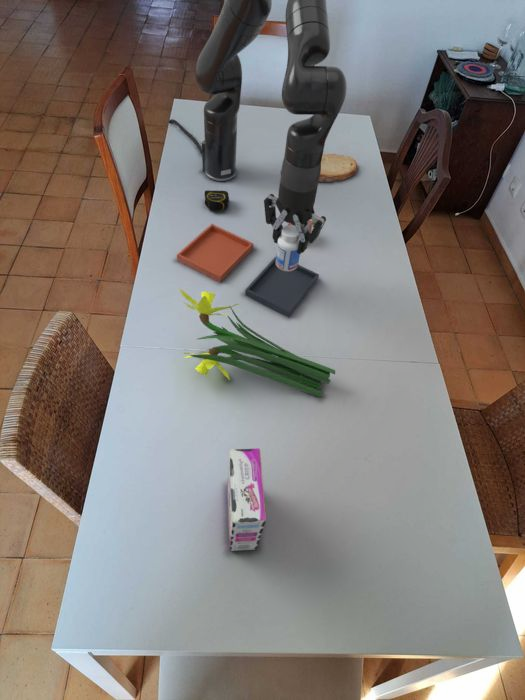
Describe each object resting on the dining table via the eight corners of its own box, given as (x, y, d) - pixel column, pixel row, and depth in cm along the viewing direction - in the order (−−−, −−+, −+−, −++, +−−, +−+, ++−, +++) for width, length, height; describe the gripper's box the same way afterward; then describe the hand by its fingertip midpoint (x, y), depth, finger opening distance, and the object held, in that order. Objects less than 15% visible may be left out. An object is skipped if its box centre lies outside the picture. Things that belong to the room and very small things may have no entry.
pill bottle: (298, 257, 108) (304, 224, 100) (297, 273, 105) (303, 240, 97) (275, 254, 108) (280, 221, 100) (273, 270, 105) (278, 237, 97)
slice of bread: (361, 167, 148) (364, 156, 145) (337, 193, 138) (340, 182, 135) (312, 148, 152) (314, 137, 149) (286, 172, 142) (287, 161, 139)
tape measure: (228, 199, 132) (228, 188, 129) (229, 214, 128) (229, 203, 125) (204, 199, 131) (204, 187, 128) (204, 214, 127) (204, 202, 124)
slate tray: (245, 295, 110) (245, 289, 109) (276, 260, 118) (277, 254, 117) (288, 317, 107) (289, 311, 105) (317, 280, 115) (319, 274, 114)
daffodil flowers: (313, 432, 91) (145, 369, 85) (306, 396, 104) (161, 340, 99) (352, 361, 85) (175, 288, 79) (340, 333, 98) (187, 270, 93)
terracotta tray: (177, 260, 115) (176, 254, 114) (212, 229, 124) (211, 223, 122) (220, 282, 112) (220, 276, 110) (252, 249, 120) (253, 243, 119)
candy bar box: (259, 550, 76) (267, 521, 63) (229, 552, 75) (231, 524, 62) (254, 484, 83) (260, 446, 69) (226, 486, 82) (228, 448, 69)
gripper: (340, 183, 89) (324, 250, 102) (277, 157, 92) (270, 225, 106) (323, 202, 85) (309, 269, 98) (258, 174, 88) (253, 242, 102)
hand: (288, 246), depth 102 cm, fingers closed on pill bottle, 5 cm apart
